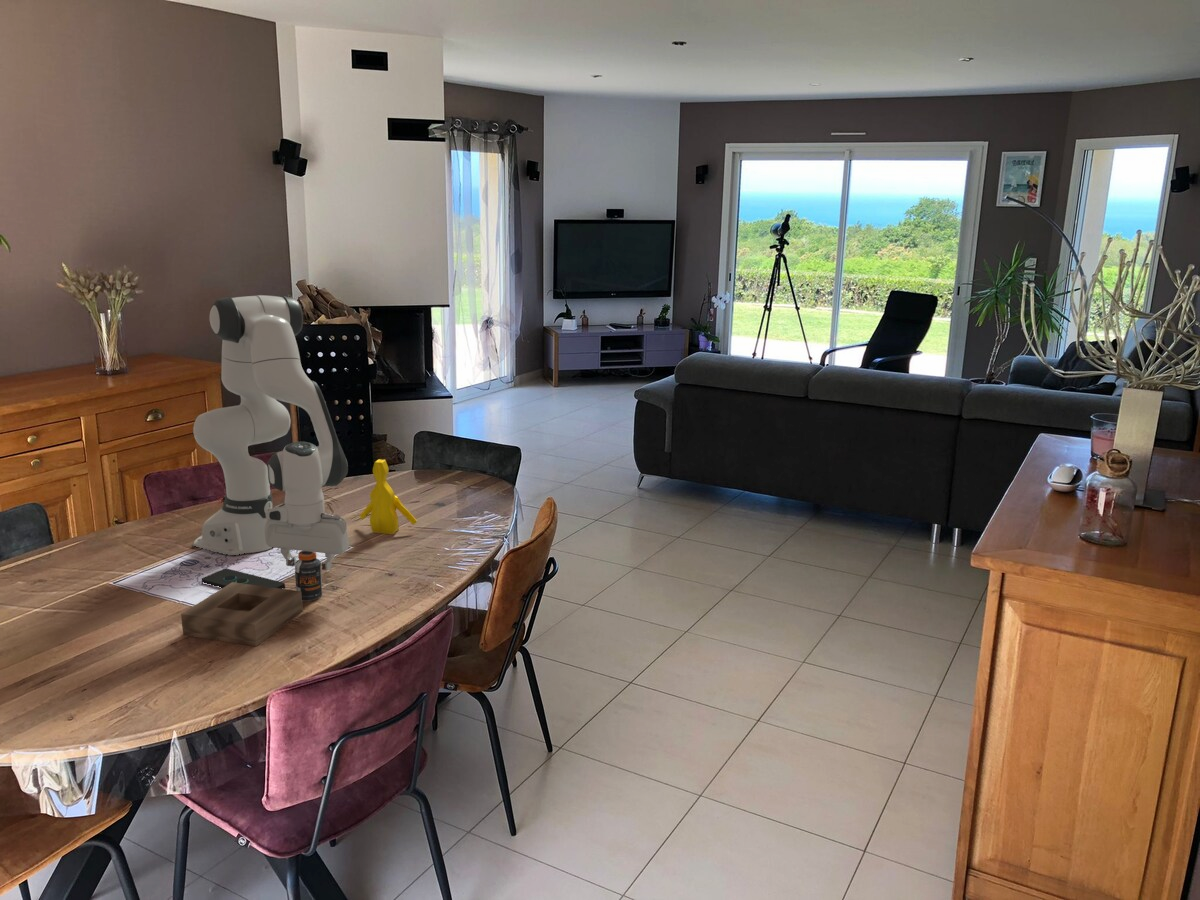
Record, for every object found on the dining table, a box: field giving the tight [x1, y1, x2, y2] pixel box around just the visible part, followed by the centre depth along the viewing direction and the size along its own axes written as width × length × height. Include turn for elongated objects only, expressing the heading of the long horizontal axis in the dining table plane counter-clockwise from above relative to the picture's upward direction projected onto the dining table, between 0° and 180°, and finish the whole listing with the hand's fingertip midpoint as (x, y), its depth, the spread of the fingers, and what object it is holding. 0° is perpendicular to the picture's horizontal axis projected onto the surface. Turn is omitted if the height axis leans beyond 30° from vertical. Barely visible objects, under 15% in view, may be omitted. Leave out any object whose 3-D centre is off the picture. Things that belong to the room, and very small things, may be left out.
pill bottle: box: [294, 550, 323, 602], centre depth 219 cm, size 6×6×11 cm
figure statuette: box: [359, 459, 418, 535], centre depth 261 cm, size 18×8×22 cm, turn 78°
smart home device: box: [201, 568, 286, 589], centre depth 225 cm, size 8×2×20 cm
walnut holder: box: [180, 582, 303, 647], centre depth 205 cm, size 18×18×5 cm
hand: (308, 567), depth 218 cm, fingers open, 8 cm apart
